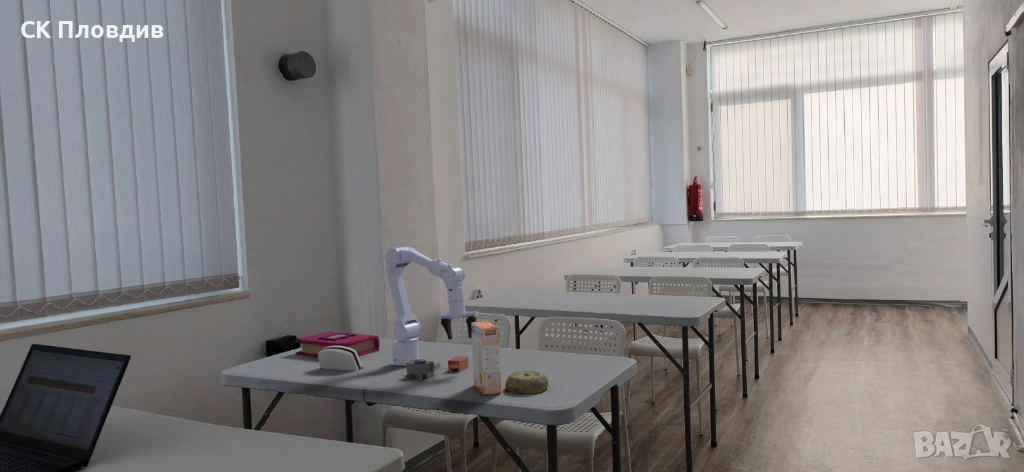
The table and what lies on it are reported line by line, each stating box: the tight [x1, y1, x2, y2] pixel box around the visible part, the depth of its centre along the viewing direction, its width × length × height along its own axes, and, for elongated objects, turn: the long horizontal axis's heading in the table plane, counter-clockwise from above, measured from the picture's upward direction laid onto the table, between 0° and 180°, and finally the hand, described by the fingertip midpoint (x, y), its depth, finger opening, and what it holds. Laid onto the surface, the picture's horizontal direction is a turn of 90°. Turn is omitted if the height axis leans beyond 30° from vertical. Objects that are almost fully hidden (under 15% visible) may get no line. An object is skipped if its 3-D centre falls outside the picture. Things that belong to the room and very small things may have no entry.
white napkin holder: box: [317, 346, 365, 372], centre depth 259 cm, size 17×5×10 cm, turn 68°
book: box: [295, 330, 381, 358], centre depth 290 cm, size 21×28×8 cm
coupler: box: [403, 358, 442, 382], centre depth 246 cm, size 19×8×6 cm, turn 158°
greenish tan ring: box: [505, 370, 549, 395], centre depth 221 cm, size 14×14×5 cm
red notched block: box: [447, 355, 469, 373], centre depth 251 cm, size 5×7×4 cm, turn 158°
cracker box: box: [471, 320, 502, 396], centre depth 222 cm, size 14×6×21 cm, turn 17°
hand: (460, 338), depth 251 cm, fingers open, 7 cm apart
